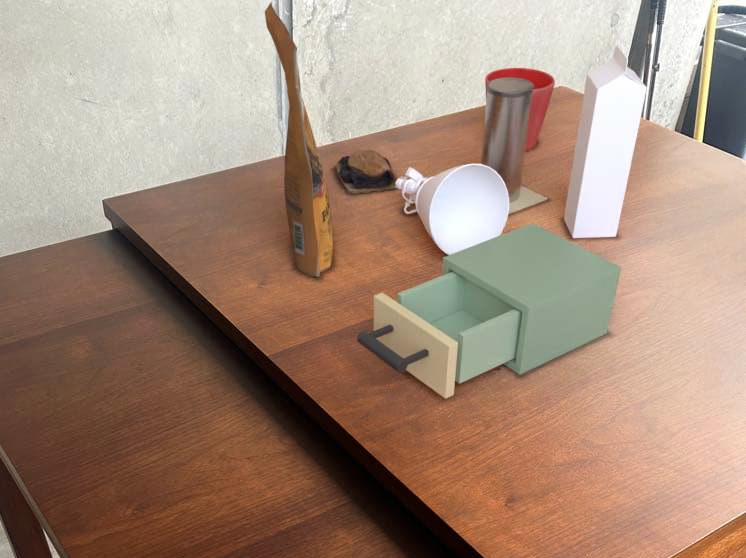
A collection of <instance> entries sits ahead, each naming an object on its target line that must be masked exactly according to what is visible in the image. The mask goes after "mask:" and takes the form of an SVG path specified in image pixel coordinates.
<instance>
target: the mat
mask: <svg viewBox="0 0 746 558" xmlns="http://www.w3.org/2000/svg"><path fill="white" fill-rule="evenodd" d="M548 200H549V199H548V197H547V196H545V195H543V194H540V193H538V192H536V191H534V190H532V189H530V188H528V187H525V186H523V185H521V189H520V196H519V198H518V199H517V200H516V201H514V202H511V203H509V212H508V215H510V214H511V215H512V214H513V213H516V212H519V211H521V210H525V209H526V208H530V207H532V206H534V205H537V204H540V203H542V202H546V201H548Z"/></svg>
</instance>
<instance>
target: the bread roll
mask: <svg viewBox="0 0 746 558" xmlns="http://www.w3.org/2000/svg"><path fill="white" fill-rule="evenodd" d="M391 168H392V165H391V163H390V161H389V159H388V158H386V157H384V156H383V155H381V153H380V152H378V151H376V150H373V149H364V150H357V151H354V152H352V153H350V155H345V156H342V157H341V158H340V160H338V162H336V163H335V169H336V174H337V175H338V177H339V180H340V182H341V183H342V186H343V187H344V188H345V189H346V192H348V194H351V195H352V194H356V195H357V194H363V193H371V192H382V191H386V190H395V189H397V188H396V187H397V185H396V180H395V176H394V174H393V172H392V169H391Z"/></svg>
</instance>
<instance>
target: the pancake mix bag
mask: <svg viewBox="0 0 746 558" xmlns="http://www.w3.org/2000/svg"><path fill="white" fill-rule="evenodd" d="M264 17H265V25H266V29H267V31H268V32H269V34H270V37H271V39H272V41H273V45H274V47H275V49H276V52H277V55H278V58H279V61H280V64H281V66H282V68H283V71H284V79H285V84H286V89H287V91H286V92H287V98H288V118H287V119H288V120H287V130H286V141H285V149H284V150H285V151H284V178H283V190H284V203H285V213H286V220H287V226H288V233H289V239H290V242H291V247H292V253H293V256H294V259H295V264H296V269H298V270H299V271H300V272H302V273H303V274H306V275H308V276H312V277H316V278H320V275H321V272H324V271H327V270H329V269H331V265H332V261H333V255H334V234H333V219H332V211H331V209H332V208H331V202H330V196H329V189H328V185H327V181H326V177H325V173H324V167H323V165H322V161H321V157H320V153H319V150H318V146H317V143H316V140H315V135H314V132H313V128H312V126H311V125H312V124H311V122H310V118H309V115H308V112H307V108H306V106H305V102H304V99H303V96H302V88H301V79H300V78H301V77H300V70H299V69H300V68H299V65H298V60H297V59H298V57H297V53H298V47H297V45H296V44H295V42H294V40H293V38H292V35H291V34H290V31H289V30H288V28H287V26H286V24H285V22H284V21H283V20H282V19H281V18H280V16H279V15H278V14H277V12H276V10H275V8H274V7H273V1H271V2H270V3H269V4H268V6H267V7H266V8H265V10H264Z"/></svg>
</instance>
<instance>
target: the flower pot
mask: <svg viewBox="0 0 746 558" xmlns="http://www.w3.org/2000/svg"><path fill="white" fill-rule="evenodd" d="M506 77H513V78H521V79H525V80H528V81H530V82H532V83H533V85H534V88H533V92H532V98H531V106H530V115H529V123H528V131H527V139H526V148H525V151H527V150H530V149H532V148H533V147H536V145H537V143H538V139H539V136H540V134H541V130H542V127H543V124H544V121H545V119H546V115H547V112H548V108H549V105H550V102H551V98H552V94H553V92H554V88H555V85H556V81H555V78H554V77H553V75H551V74H549V73H548V72H545V71H543V70H539V69H534V68H528V67H527V68H525V67H507V68H501V69H496V70H493V71H491V72H489V73H487V75H486V76H485V81H484V83H485V100H486V99H487V84H488V82H490V81H491V80H494V79H498V78H506Z"/></svg>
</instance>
